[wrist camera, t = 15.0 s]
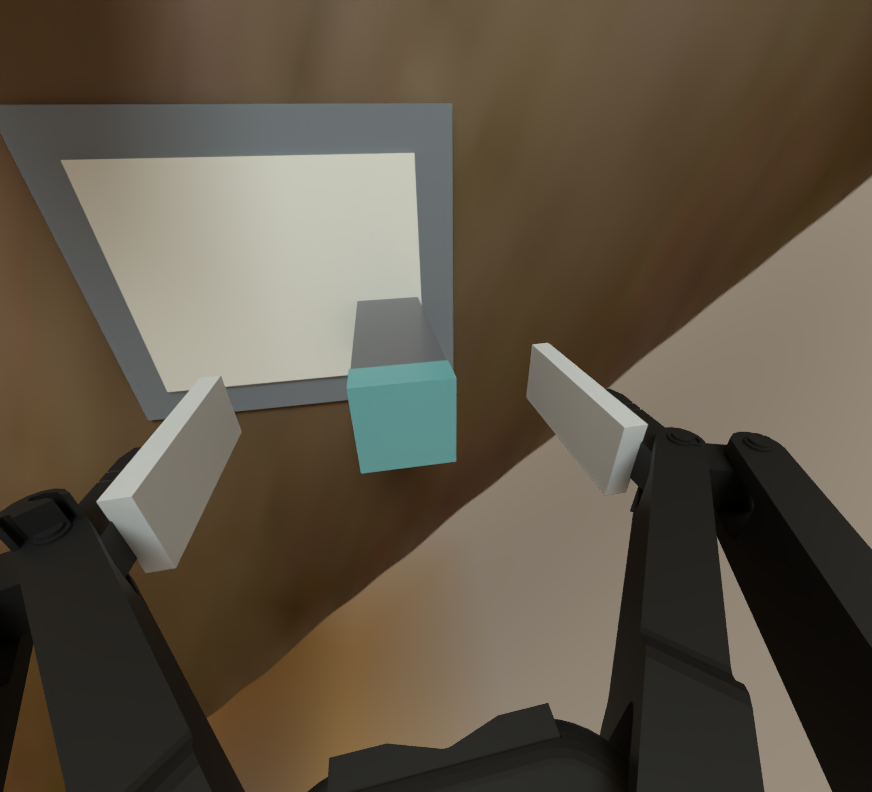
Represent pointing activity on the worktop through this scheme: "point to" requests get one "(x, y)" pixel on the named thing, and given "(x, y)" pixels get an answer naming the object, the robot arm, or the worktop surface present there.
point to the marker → (400, 388)
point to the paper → (243, 234)
